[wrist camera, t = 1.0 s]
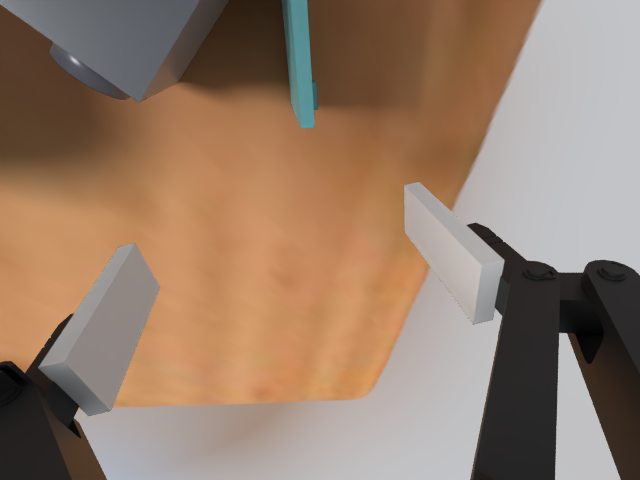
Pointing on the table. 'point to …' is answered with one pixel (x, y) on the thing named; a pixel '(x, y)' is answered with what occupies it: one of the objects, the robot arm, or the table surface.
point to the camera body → (122, 39)
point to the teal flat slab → (299, 61)
